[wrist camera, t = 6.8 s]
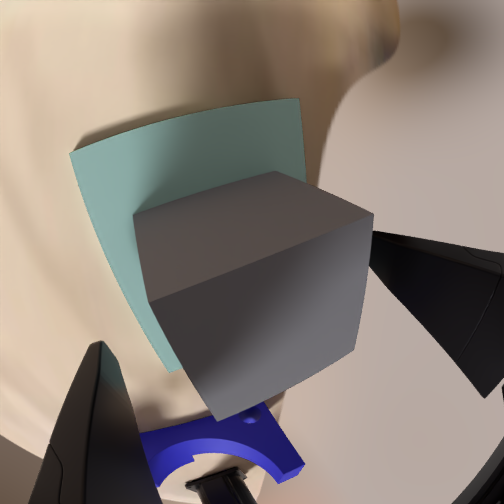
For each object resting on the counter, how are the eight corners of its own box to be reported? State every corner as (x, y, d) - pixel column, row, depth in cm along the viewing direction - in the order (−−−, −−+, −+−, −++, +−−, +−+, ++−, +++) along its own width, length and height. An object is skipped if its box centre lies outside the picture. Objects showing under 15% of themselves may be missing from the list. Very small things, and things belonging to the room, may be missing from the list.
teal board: (304, 305, 14) (310, 311, 14) (166, 365, 12) (169, 372, 11) (291, 98, 9) (299, 98, 8) (72, 151, 7) (69, 153, 6)
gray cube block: (286, 282, 12) (354, 349, 8) (177, 327, 11) (217, 421, 7) (275, 170, 9) (373, 213, 6) (132, 214, 8) (148, 302, 4)
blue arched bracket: (118, 459, 15) (138, 524, 10) (95, 438, 13) (114, 517, 8) (257, 423, 19) (293, 479, 15) (260, 396, 17) (305, 463, 12)
